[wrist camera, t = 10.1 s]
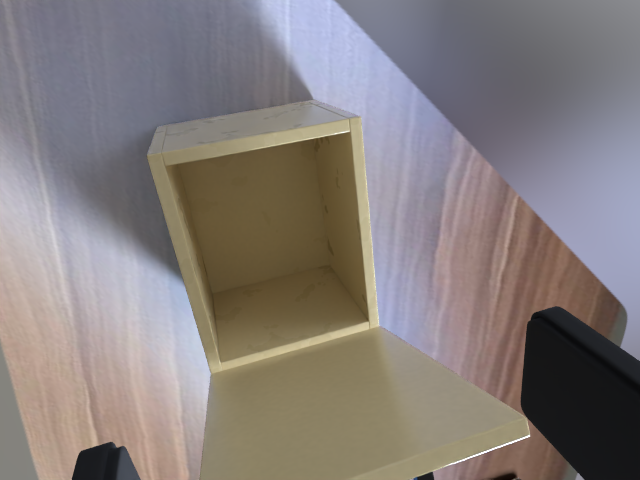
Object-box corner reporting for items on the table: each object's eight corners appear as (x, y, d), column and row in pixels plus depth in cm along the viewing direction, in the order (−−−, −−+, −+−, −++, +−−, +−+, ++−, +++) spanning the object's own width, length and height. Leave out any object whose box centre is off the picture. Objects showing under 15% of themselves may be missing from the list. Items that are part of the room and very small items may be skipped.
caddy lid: (192, 534, 14) (230, 682, 15) (527, 416, 17) (552, 545, 17) (210, 373, 30) (228, 446, 31) (380, 325, 33) (395, 393, 33)
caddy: (156, 126, 34) (146, 155, 24) (314, 99, 36) (361, 116, 27) (205, 298, 40) (211, 375, 31) (336, 265, 43) (379, 327, 33)
